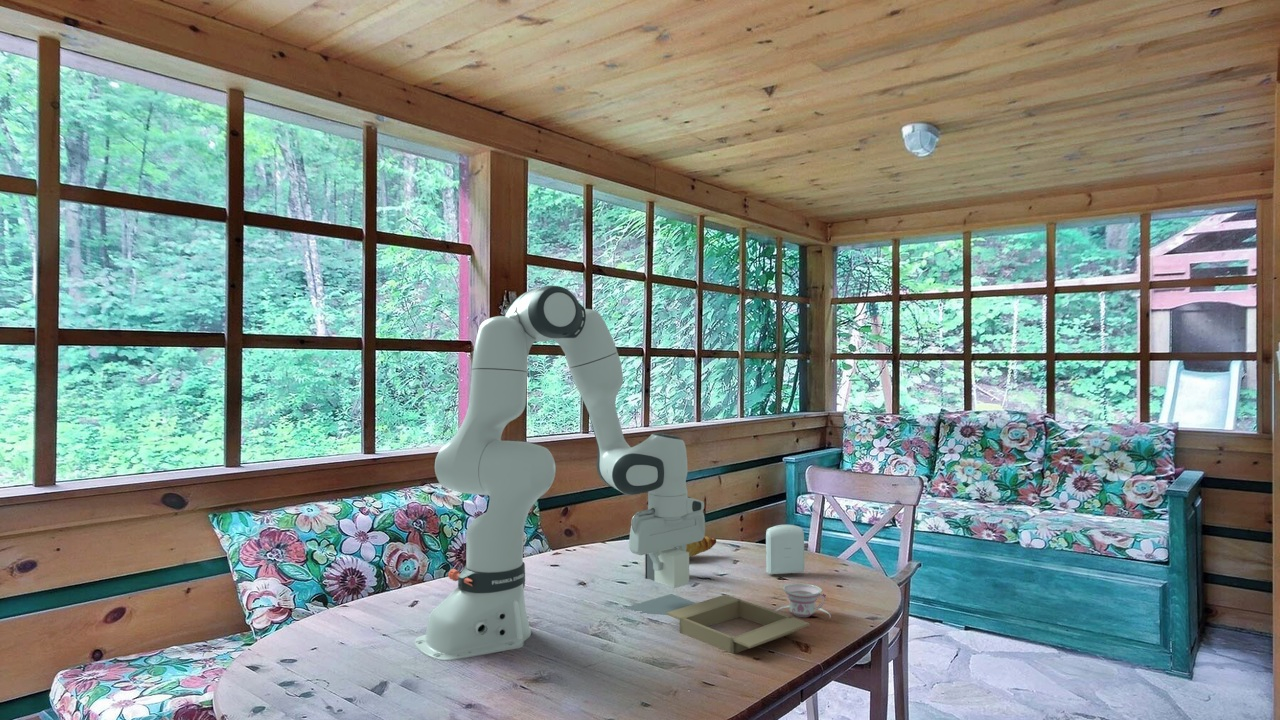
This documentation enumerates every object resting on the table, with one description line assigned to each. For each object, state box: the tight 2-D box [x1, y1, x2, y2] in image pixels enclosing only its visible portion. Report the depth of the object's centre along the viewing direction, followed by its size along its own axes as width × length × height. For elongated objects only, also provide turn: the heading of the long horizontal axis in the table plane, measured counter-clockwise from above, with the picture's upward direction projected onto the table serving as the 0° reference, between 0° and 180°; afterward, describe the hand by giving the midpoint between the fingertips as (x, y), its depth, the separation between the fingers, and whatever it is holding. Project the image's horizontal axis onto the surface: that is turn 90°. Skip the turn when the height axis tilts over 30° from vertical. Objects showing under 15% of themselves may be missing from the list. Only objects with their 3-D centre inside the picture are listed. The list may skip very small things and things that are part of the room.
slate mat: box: [625, 593, 697, 616], centre depth 161 cm, size 14×13×1 cm
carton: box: [665, 594, 810, 655], centre depth 145 cm, size 18×23×4 cm
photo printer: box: [765, 524, 805, 575], centre depth 190 cm, size 10×4×12 cm, turn 99°
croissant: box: [686, 535, 717, 558], centre depth 206 cm, size 21×10×8 cm
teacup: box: [775, 582, 832, 619], centre depth 158 cm, size 12×12×6 cm
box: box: [646, 548, 690, 589], centre depth 161 cm, size 4×9×7 cm, turn 40°
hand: (668, 567), depth 161 cm, fingers closed on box, 4 cm apart
